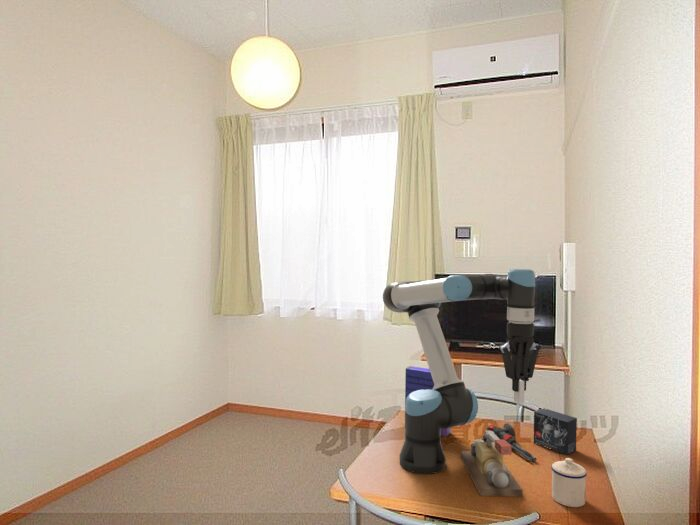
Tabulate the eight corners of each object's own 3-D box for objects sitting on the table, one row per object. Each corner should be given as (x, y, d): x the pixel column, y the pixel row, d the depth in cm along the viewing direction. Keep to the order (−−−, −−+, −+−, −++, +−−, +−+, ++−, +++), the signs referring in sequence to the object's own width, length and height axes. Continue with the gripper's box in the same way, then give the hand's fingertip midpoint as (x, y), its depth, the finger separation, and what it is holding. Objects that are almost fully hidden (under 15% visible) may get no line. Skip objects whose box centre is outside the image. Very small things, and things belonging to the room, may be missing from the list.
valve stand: (480, 495, 135) (480, 454, 135) (460, 456, 161) (461, 422, 161) (522, 496, 135) (522, 455, 134) (496, 457, 161) (496, 422, 160)
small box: (532, 443, 173) (533, 411, 173) (542, 439, 177) (543, 407, 177) (567, 455, 163) (567, 421, 162) (577, 451, 167) (577, 417, 167)
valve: (467, 441, 179) (501, 432, 183) (509, 476, 154) (547, 464, 158) (466, 426, 178) (500, 416, 183) (507, 457, 154) (545, 446, 158)
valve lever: (483, 435, 149) (483, 428, 149) (492, 435, 149) (492, 427, 149) (501, 454, 134) (501, 446, 134) (511, 454, 135) (511, 446, 135)
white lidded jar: (593, 507, 129) (594, 465, 129) (563, 509, 128) (564, 467, 128) (566, 485, 141) (567, 447, 141) (538, 487, 140) (539, 449, 140)
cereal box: (450, 432, 182) (451, 371, 182) (446, 436, 178) (447, 374, 178) (409, 424, 192) (410, 365, 191) (404, 427, 187) (405, 368, 187)
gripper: (509, 324, 131) (507, 407, 132) (547, 323, 135) (546, 404, 135) (493, 320, 139) (492, 399, 139) (530, 319, 142) (529, 396, 143)
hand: (518, 401), depth 137 cm, fingers closed
